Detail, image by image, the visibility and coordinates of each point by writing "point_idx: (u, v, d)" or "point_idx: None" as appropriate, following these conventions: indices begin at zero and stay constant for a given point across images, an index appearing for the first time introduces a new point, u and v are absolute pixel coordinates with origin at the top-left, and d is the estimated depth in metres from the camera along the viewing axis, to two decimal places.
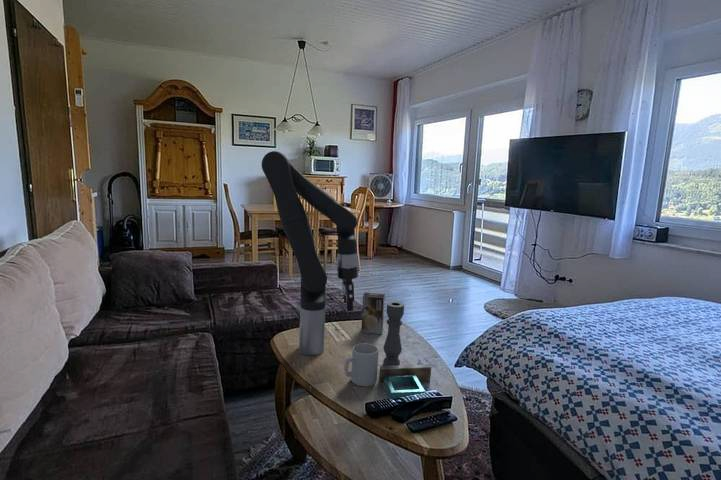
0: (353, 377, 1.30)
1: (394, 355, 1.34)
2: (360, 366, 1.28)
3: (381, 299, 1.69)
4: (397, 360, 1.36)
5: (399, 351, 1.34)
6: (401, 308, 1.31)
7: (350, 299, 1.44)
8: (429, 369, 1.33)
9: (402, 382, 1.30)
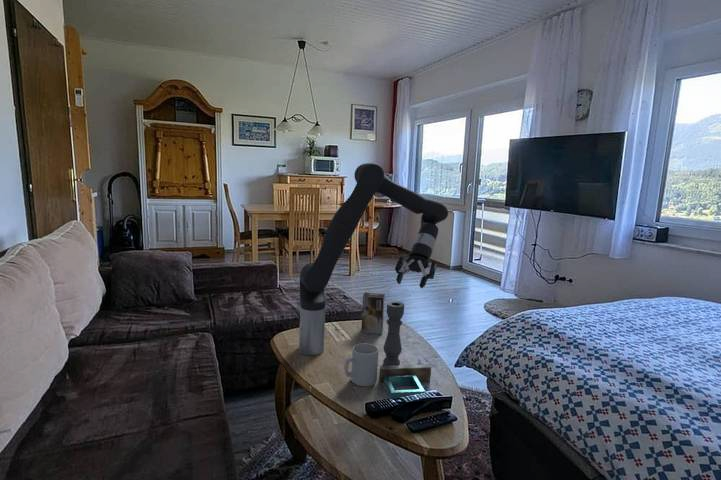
0: (353, 377, 1.30)
1: (394, 355, 1.34)
2: (360, 366, 1.28)
3: (381, 299, 1.69)
4: (397, 360, 1.36)
5: (399, 351, 1.34)
6: (401, 308, 1.31)
7: (432, 275, 1.42)
8: (429, 369, 1.33)
9: (402, 382, 1.30)
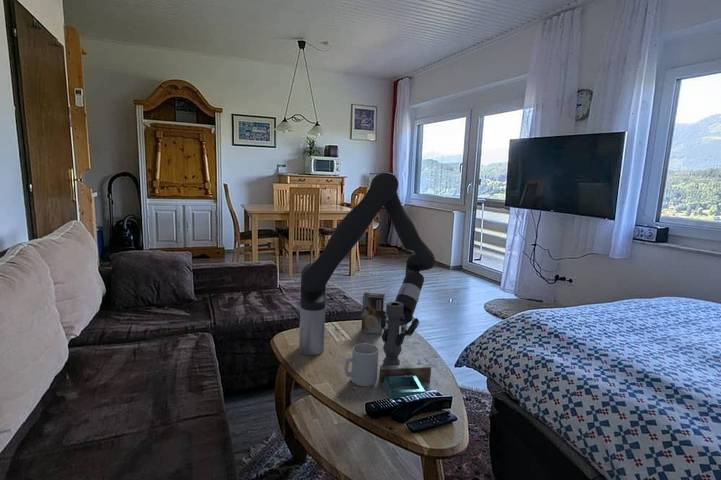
0: (353, 377, 1.30)
1: (394, 355, 1.34)
2: (360, 366, 1.28)
3: (381, 299, 1.69)
4: (397, 360, 1.36)
5: (399, 351, 1.34)
6: (400, 308, 1.31)
7: (410, 333, 1.34)
8: (429, 369, 1.33)
9: (402, 382, 1.30)
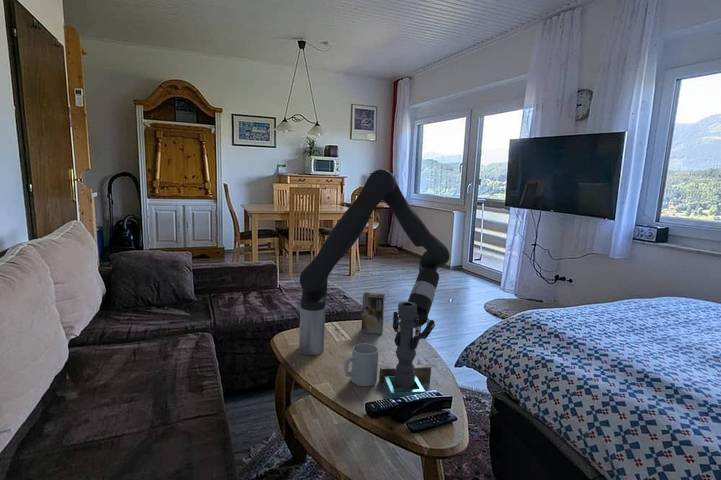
0: (353, 377, 1.30)
1: (408, 360, 1.22)
2: (360, 366, 1.28)
3: (381, 299, 1.69)
4: (411, 366, 1.24)
5: (413, 356, 1.22)
6: (414, 308, 1.20)
7: (425, 336, 1.22)
8: (429, 369, 1.33)
9: None
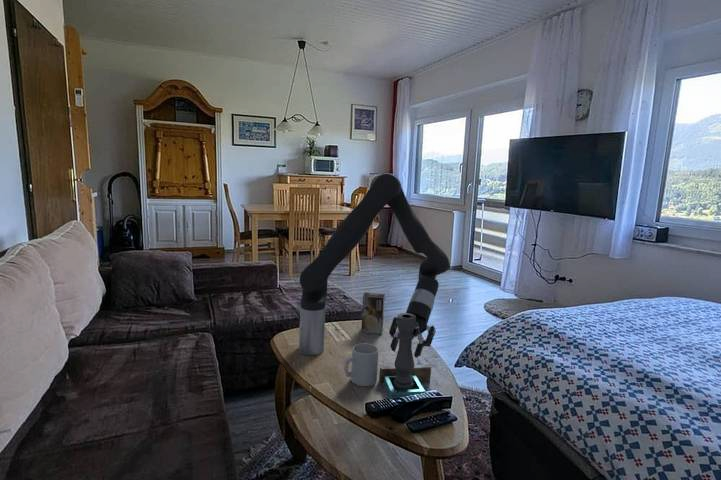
0: (353, 377, 1.30)
1: (406, 372, 1.23)
2: (360, 366, 1.28)
3: (381, 299, 1.69)
4: (410, 377, 1.24)
5: (411, 367, 1.23)
6: (412, 320, 1.20)
7: (429, 343, 1.22)
8: (429, 369, 1.33)
9: None
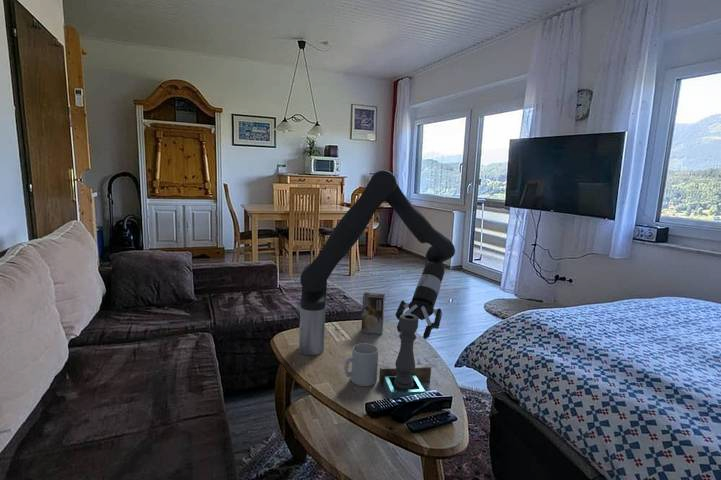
0: (353, 377, 1.30)
1: (407, 372, 1.22)
2: (360, 366, 1.28)
3: (381, 299, 1.69)
4: (410, 378, 1.24)
5: (412, 368, 1.23)
6: (415, 322, 1.20)
7: (437, 325, 1.26)
8: (429, 369, 1.33)
9: None
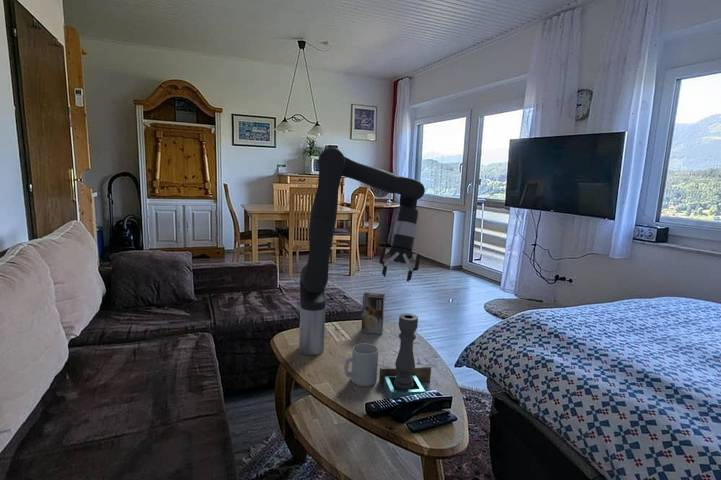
0: (353, 377, 1.30)
1: (407, 372, 1.23)
2: (360, 366, 1.28)
3: (381, 299, 1.69)
4: (410, 378, 1.24)
5: (412, 368, 1.23)
6: (414, 321, 1.20)
7: (417, 268, 1.45)
8: (429, 369, 1.33)
9: None
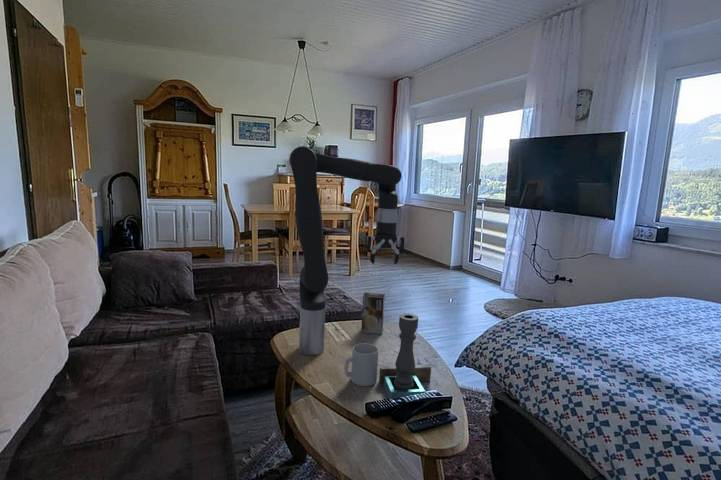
0: (353, 377, 1.30)
1: (407, 372, 1.23)
2: (360, 366, 1.28)
3: (381, 299, 1.69)
4: (410, 378, 1.24)
5: (412, 368, 1.23)
6: (415, 321, 1.20)
7: None
8: (429, 369, 1.33)
9: None
